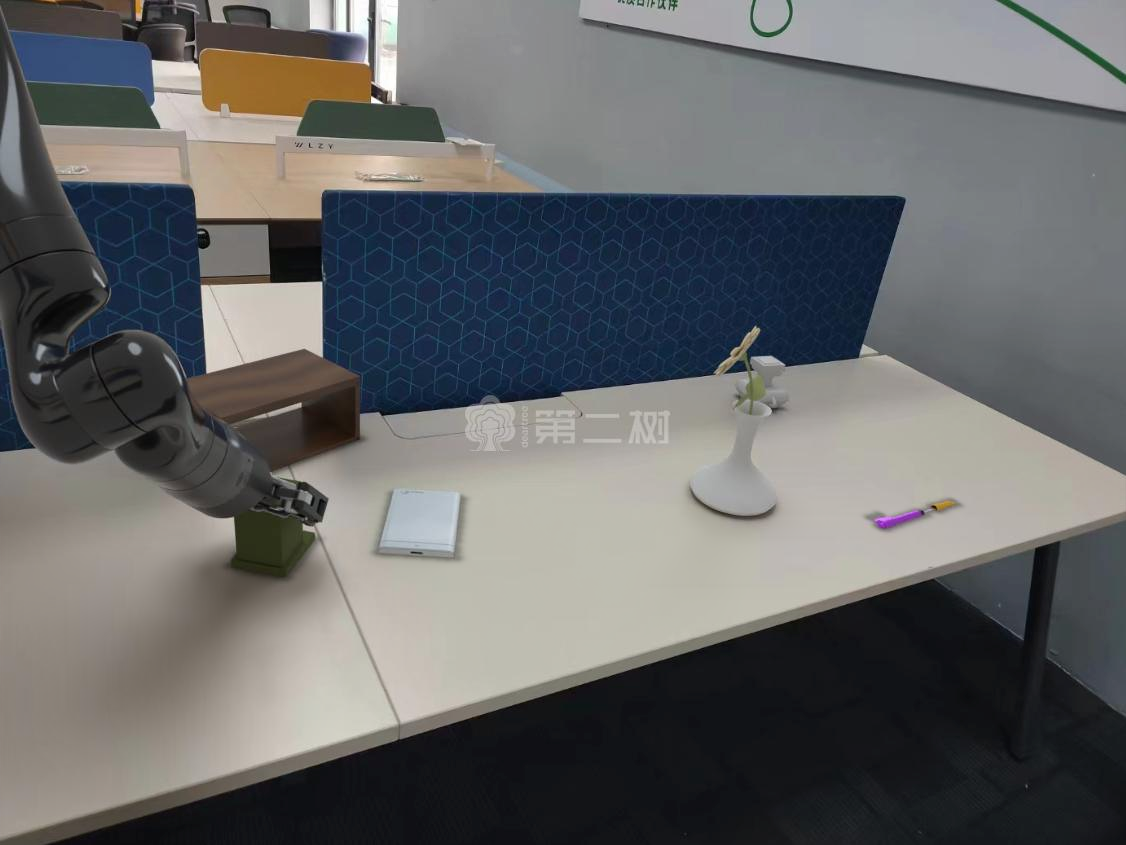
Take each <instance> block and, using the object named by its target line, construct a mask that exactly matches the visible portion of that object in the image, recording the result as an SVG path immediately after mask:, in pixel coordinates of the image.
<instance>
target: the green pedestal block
mask: <svg viewBox="0 0 1126 845" xmlns="http://www.w3.org/2000/svg"><path fill="white" fill-rule="evenodd" d="M275 477H276V478H279V479H282V480H284V481H287V482H290V483H292V484H295V485H296V488H297V485H298V482H302V480H295V479H290V478H284V477H278V476H275ZM277 506H278V503H277V504H274V505H271V506H269V507H271V508H273V509H276V508H277ZM293 511H295V510H293ZM233 525H234V538H235V551H236V552H235V554H234V555H233V557H232V558H230V566H231V568H237V569H241V570H242V569H243V570H246V571H247V570H248V571H253V572H257V573H264V574H269V575H272V576H273V575H274V576H279V577H285V578H287V577H288V576H289V574H290V573H291V572H292V570H293V569H294V568H295V566H296V565H297V564H298V562H299V561H300V560H301V559H302V557H303V556H304V555H305V553H306V552H307V550H308V549H309V548H310V547H311V545H312V544H313V543H314V542H315V541H316V532H313V531H309V530H304V524H303V523H302V522H300V521H299V520H297V519H296V518H293V517H290V516H288V517H286V518H277V517H274V516H271V515H268V514H265V513H262V512H251V511H247V512H245V513H243V514H241V515H239V516H236V517H233Z"/></svg>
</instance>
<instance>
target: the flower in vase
mask: <svg viewBox="0 0 1126 845" xmlns="http://www.w3.org/2000/svg"><path fill="white" fill-rule="evenodd" d="M760 332H761V329H760V327H757V325H755V326H754V327H753V328H752V330H751V332H750V331H749V332H748V333H746V335H745V336H744V338H743V340H742V342H741V343H740V346H737V347H734V348H733V349H732V350H731V352H730V353H729V354H730V357H728V358H726V359H725V360H724V361H722V362H721V363H720V364H719V365H718V366H717V369H716V370H715V371H714V372H713V374H714V375H715V376H717V377H718V378H719V377H721V376H722V375H723V374H725V373H726V372H727V371H728V370H729V369H731V368H732V366H734V365H735V363H736V362H737V361H739V362H740V361H742V362H743V361H744V364H745V366H746V371H747V374H748V379H750V382H749V383H748V384H747V385H746V391H747V394H745V395H744V396H743V397H742V398H741V397H740V398H739V399H736V400H733V401H732V403H731V407H732V410H733V411H734V413H735V417H736V434H735V439H734V440H735V441H734V444H733V448H732V450H731V453H730V454H729V455H728V456H727V457H724V458H722V459H720V460H716V461H714V462H711V463H708V464H706V465H704V466H703V467H701V468H699V469H698V470H696V471H695V473H694V474H693V475H692V476H691V479H690V482H689V484H690V489H691V490H692V493H693V494H694V496H695V497H696V498H697V499H698V500H699V501H700V502H701V503H703V504H704V505H706V506H707V507H709V508H711V509H714V510H716V511H718V512H721V513H725V514H729V515H733V516H743V517H751V516H758V515H762V514H765V513H767V512H768V511H769V510H771V509H772V508H773V507H774V506H775V505H776V503H777V493H776V489H775V487H774V485H773V483H771V482H770V480H769V478H768V477H767V476H766V475H765V474H764V473H763V471H761V470H760V469H759V468H757V466H756V465H755V464H754V462H753V461H752V448H753V444H754V440H755V437H756V435H757V432H758V430H759V428H760V426H761V424H762V423H763V422H764V420H766V419H767V418H768V417H769V416H770V415H771V414H772V413H773V411H772V408H769V407H768V406H767V405H765V404H763V403H761V402H758V401H756V400H759V399H761V398H763V397H764V396H765V394H766V391H765V386H764V382H763V378H762V375H761V374H760V375H759V376H758V375H757V376H756V377H754V378H753V375H752V371H751V367H750V362H749V360H748V358H747V356H748V354H747V350H748V349H749V348H750V347H751V345H752V344H753V343H754V342H755V341H756V339H757V337H758V336H759V335H760ZM752 379H753V380H752ZM748 397H749V398H750V400H748V399H747V398H748Z"/></svg>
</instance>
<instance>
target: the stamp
mask: <svg viewBox="0 0 1126 845" xmlns="http://www.w3.org/2000/svg"><path fill="white" fill-rule="evenodd" d="M749 365H751V369H752V370H754V371H755V372H756V373H757V376H759V375H760V374H761V375H762V378H763V382H764V386H765V391H766V394H765V396H764V397H763V398H761V399H759V400H756V401H758V402H761V403H763V404H765V405H767V406H768V407H769V408H770V409H778V408H779V407H781V406H783V405H785V404H787V402H789V401H790V395H789V393H788V392H787V390H785V389H784V388H782V387H781V386H780V385H779V384H778V383H776V382H775V381H774V380H773V379H774V378H775V377H781V376H782V374H783V372H784V373H785V372H786V364H785V363H783V362H782V361H780V360H779V359H777V358H776V357H774V356H773V355H764V356H763V355H762V356H760V355H759V356H751V357H750V360H749ZM753 379H754V378H752V380H753ZM749 382H750V379H749V378H740V379H738V380H737V381H735V384H734V387H735V389H736V391H737V393H738V395H739V397H740V399H741V398H742V397H743V396H744V395H745V394H747V391H746V385H747V384H748V383H749ZM747 399H748V400H750V398H749V397H748V398H747Z"/></svg>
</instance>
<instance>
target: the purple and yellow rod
mask: <svg viewBox="0 0 1126 845" xmlns="http://www.w3.org/2000/svg"><path fill="white" fill-rule="evenodd" d="M955 504H956V501H952V500H951V501H950V500H946V501H943V502H938V503H934V504H931V505H930V509H927V510H923V509H918V510H917V509H916V510H913V511H910V512H907V513H904V514H901V515H898V516H895V517H891V516H886V517H880V518H876V519H873V521H874V522H875V523H877V527H878V528H880V529H882V530H883V529H889V528H892V527H894V526H895V527H896V526H897V525H899V524H902V523H905V522H908V521H912V520H914V519H917V518H919V517H922V516H924V515H925V514H926V513H928V512H931V511H935V510H936V511H937V512H939V511H942V510H944V509H946V508H949V507H953V505H955ZM932 507H933V508H932Z"/></svg>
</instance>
